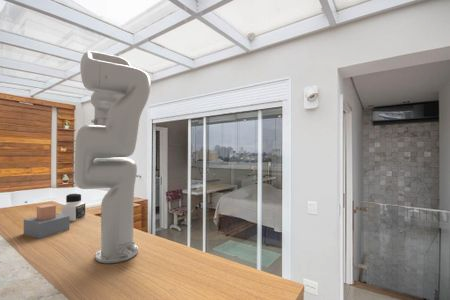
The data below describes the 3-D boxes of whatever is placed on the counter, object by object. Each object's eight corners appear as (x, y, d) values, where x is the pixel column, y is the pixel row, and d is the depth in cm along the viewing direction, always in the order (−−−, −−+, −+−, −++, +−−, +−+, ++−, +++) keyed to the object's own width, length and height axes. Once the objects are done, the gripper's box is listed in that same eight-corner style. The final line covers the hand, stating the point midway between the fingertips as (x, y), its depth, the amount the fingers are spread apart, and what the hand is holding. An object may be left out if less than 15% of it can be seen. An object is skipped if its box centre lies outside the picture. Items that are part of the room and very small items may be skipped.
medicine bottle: (76, 221, 108) (76, 195, 108) (61, 221, 108) (61, 195, 108) (85, 216, 115) (85, 192, 115) (71, 216, 115) (71, 192, 115)
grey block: (69, 230, 97) (69, 216, 97) (39, 239, 87) (39, 223, 87) (53, 226, 102) (53, 212, 102) (23, 234, 92) (23, 219, 92)
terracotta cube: (55, 217, 95) (55, 205, 95) (40, 220, 91) (40, 208, 91) (51, 215, 98) (51, 203, 98) (36, 218, 94) (36, 205, 94)
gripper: (87, 121, 94) (87, 163, 94) (126, 124, 108) (126, 161, 108) (79, 122, 98) (78, 162, 98) (117, 125, 112) (117, 160, 112)
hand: (103, 161), depth 103 cm, fingers open, 9 cm apart
